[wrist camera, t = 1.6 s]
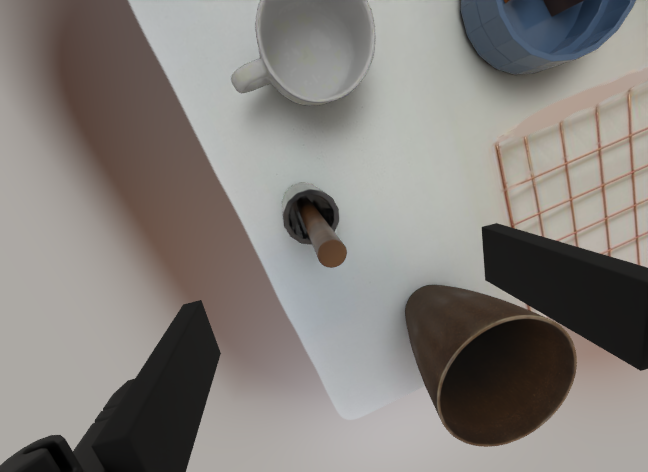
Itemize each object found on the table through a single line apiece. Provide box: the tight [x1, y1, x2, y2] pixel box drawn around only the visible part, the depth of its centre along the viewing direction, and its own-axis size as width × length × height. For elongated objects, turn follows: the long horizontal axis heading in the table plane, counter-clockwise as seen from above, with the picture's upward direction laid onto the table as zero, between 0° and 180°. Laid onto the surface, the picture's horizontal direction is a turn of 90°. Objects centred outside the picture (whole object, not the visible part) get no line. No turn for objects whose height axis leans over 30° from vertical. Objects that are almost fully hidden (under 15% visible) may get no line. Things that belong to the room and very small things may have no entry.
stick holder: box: [282, 182, 339, 244], centre depth 34 cm, size 5×6×9 cm
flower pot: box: [405, 285, 577, 447], centre depth 37 cm, size 15×15×16 cm
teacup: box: [231, 0, 375, 106], centre depth 30 cm, size 14×11×8 cm
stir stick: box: [297, 197, 347, 268], centre depth 28 cm, size 2×2×20 cm
